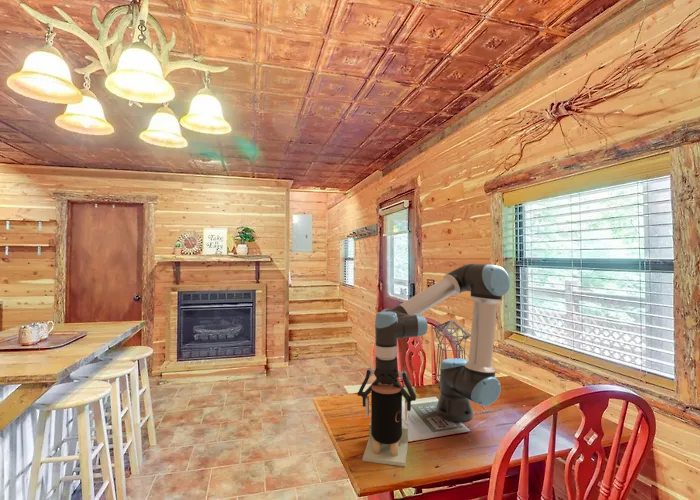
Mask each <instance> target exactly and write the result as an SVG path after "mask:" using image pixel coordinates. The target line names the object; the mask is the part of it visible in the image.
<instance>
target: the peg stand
mask: <svg viewBox="0 0 700 500" xmlns="http://www.w3.org/2000/svg"><path fill="white" fill-rule="evenodd" d="M368 426H369V427H368V428H369V429H368V430H369V431H368V435H369V436H368V441H367V443H366V445H365V446H366V447H365V450H364V452H363V455H362V461H363V462H369V463H375V464H376V463H377V464H382V465H383V464H384V465H389V466H390V465H392V466H399V467H406V463H407V462H406V461H407V455H408V453H407V452H408V447H409V446H408V445H409V427H408V426H403V425H402V436H401V438H400V439H399V441H398V442H396V443H393V444H383V443H379V442H377V441H376V440H375V439H374V438H373V436H372V434H371V422H369V424H368Z"/></svg>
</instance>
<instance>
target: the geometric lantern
mask: <svg viewBox="0 0 700 500" xmlns="http://www.w3.org/2000/svg"><path fill="white" fill-rule="evenodd" d="M431 329H433V330H434V332H435V338H437V340H438V342H439V343H437V352H436V353H437V354H436V365H435V375H434V376H435V378H436V381H437V382H438V384H439V389H441V384H440V367H441V362H442V361H443V360H445V359H447V352H448V351H451V352H452V351H453V352H455V358H459V359H465V360H466V346H464V347H463V346H462V345H461V343H462V341H463V340H464V344H466V342H467V340H468V339H469V338H471V333H469V332H468V331H467V330H465V328H463V327H462V326H461V325H460V324H458V323H457V322H456V321H454V320H453V319H452V320H451V319H450V320H448V321H445V322H444V323H441V324H438V325H436V326H434V327H432V328H431ZM447 330H450V332H449V333H447ZM453 330H454V331H453ZM458 330H460V331H461V333H462V335H458V333H457V331H458ZM454 333H455V336H453V334H454ZM441 337H442V338H441ZM449 337H450V338H449ZM440 338H441V341H440ZM444 338H446V339H447V340H449V341H450V343H449V342H447V343H446V342H444V343H443V339H444ZM452 338H453V339H452ZM458 338H460V339H459V340H458ZM453 340H454V341H453ZM442 345H448V346H447V347H446V348H443V347H442ZM451 345H455V349H448V348H449V347H450V346H451ZM458 356H459V357H458ZM443 357H444V358H443Z"/></svg>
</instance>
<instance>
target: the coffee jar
mask: <svg viewBox="0 0 700 500" xmlns="http://www.w3.org/2000/svg"><path fill="white" fill-rule="evenodd" d="M370 385H371V388H372V391H371V392H370V394H371V395H370V396H371V397H370V399H371V400H370V402H371V404H370V410H371V411H370V413H371V414H370V415H371V416H370V417H371V419H370V420H371V422H370V423H371V434H372V436H373V438H374V439H375V440H376V441H377V442H379V443H383V444H393V443H396V442H398V441H399V439H400V438H401V436H402V426H403V395H402V394H401V393H400V391H401V388H402V387H403V385H402V386H401V388H397V387H395V386H394V385H393V384H391V385H388V384H382V383H380V382H379V383H378V385H376V386H374V385H372V383H371V384H370Z"/></svg>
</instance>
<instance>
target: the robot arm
mask: <svg viewBox="0 0 700 500" xmlns="http://www.w3.org/2000/svg"><path fill="white" fill-rule="evenodd" d="M442 277H443V278H442V279H441V280H439V281H437V282H435V283H434V284H432V285H430V286H429V287H427V288H426V289H424V290H422V291H420V292H418V293H417V294H415V295H413V296H412V297H410V298H409V299H407V300H405V301H403V302H402V303H399V305H395V307H393V308H384V309H382V310H381V311H379V312H377V313H376V314H375V321H374V322H375V323H374V328H375V329H374V330H375V331H374V333H375V339H374V340H375V351H374V352H375V353H374V355H375V370H374V369H371V368H367V370H366V373H365V377H364V379H363V381H362V384H361V386H360V388H359V390H358V392H357V396H358V397H362V407H364V408H365V418H369V416H370V395H369V394H371V391H372V388H371V384H372V385H374V386H376V385H378V383H379V382H380V383H382V384H388V385H391V384H393V385H394V386H395V387H397V388H401V386H402V388H401V391H400V393H401V394H402V398H404V399H405V400H404V422H408V416H409V413H408V412H411V409H412V401H416V400H417V395H416V393H415V391H414V388H413V387H412V384H411V382H410V381H409V379H408V374H407V370H403V371H398V358H397V357H398V339H407V338H413V337H414V338H418V337H422V336H424V335H426V334H427V332H428V326H429V325H428V321H427V319H426V317H425V316H423V315H422V314H423V313H426V311H429V310H430V309H431V308H433V307H435V306H437V305H438V304H440V303H442V302H443V301H444V300H447V299H448V298H449V297H452V296H457V295H459V294H460V293H463V292H470V295H469V296H470V298H471V299H472V300H473V308H472V320H471V331H470V334H471V336H470V341H469V343H470V344H469V351H468V352H469V355H468V360H467V359H466V358H465V359H464V358H463V359H462V358H460V359H459V357H457V358H456V357H455V358H446V359H445V358H444V359H443V360H442V362H441V361H440V367H439V375H440V376H439V379H440V380H439V381H440V384H441V388H440V395H439V396H438V397H439V398H438V400H437V403H436V407H435V408H436V414H437V415H438V416H439V417H440V418H443V419H444V420H448V421H450V422H456V423H457V422H460V423H461V422H468V421H470V420H472V419H473V417H474V410H473V406H472V403H471V401H472V402H473V404H475V405H476V404H477V405H480V406H481V407H490V406H491V405H493V404H494V403H495V402H496V401H497V400H498V399H499V397H500V394H501V391H502V386H501V382H500V381H499V379H497V377H496V369H495V368H494V366H493V356H494V355H493V354H494V353H493V352H494V342H495V341H494V340H495V332H496V331H495V329H496V319H497V307H498V304H499V303H500V302H501V301H502V300H503V299H502V298H503V296H505V295H506V294H507V293H508V292H507V291H509V289H510V286H511V285H510V284H511V282H510V281H511V280H510V276H509V274H508V272H507V271H506V269H504V268H503V267H502V266H499V265H495V264H484V263H483V264H482V263H481V264H480V263H479V264H478V263H467V264H464V265H462V266H459V267H457V268H455V269H453V270H451V271H450V272H448V273H445V274H444V275H443V276H442ZM373 375H374V376H375V377H376V378H375V380H374V381H373V382H372V383H371V384H370V385H369V386H368V388H367V389H366V390H365V391H364V389H365V387H366V385H367V384H368V382H369V379H370V377H372V376H373ZM399 377H400V379H402V381H403V384H404V385H405V387H406V389H407V390H406V389H405V388H404V386H403V385H402V383H400V382H399V380H398V378H399ZM440 384H439V385H440Z"/></svg>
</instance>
